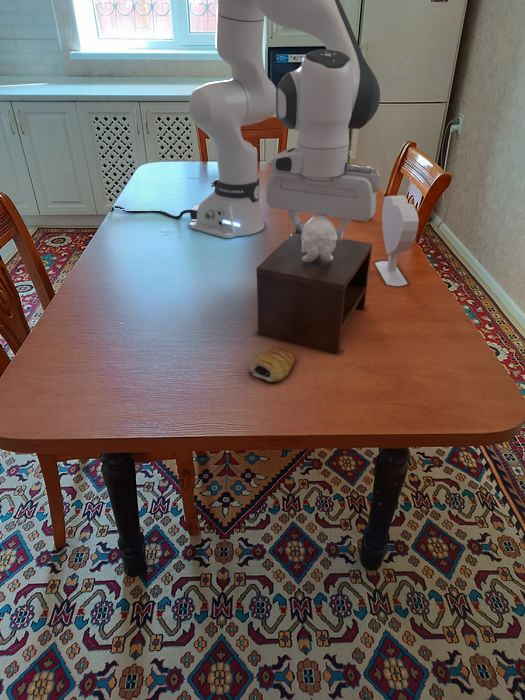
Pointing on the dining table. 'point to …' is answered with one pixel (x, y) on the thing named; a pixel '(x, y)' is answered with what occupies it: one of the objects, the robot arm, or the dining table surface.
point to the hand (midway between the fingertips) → (317, 235)
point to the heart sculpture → (397, 236)
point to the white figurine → (318, 239)
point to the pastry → (273, 363)
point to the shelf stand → (311, 292)
